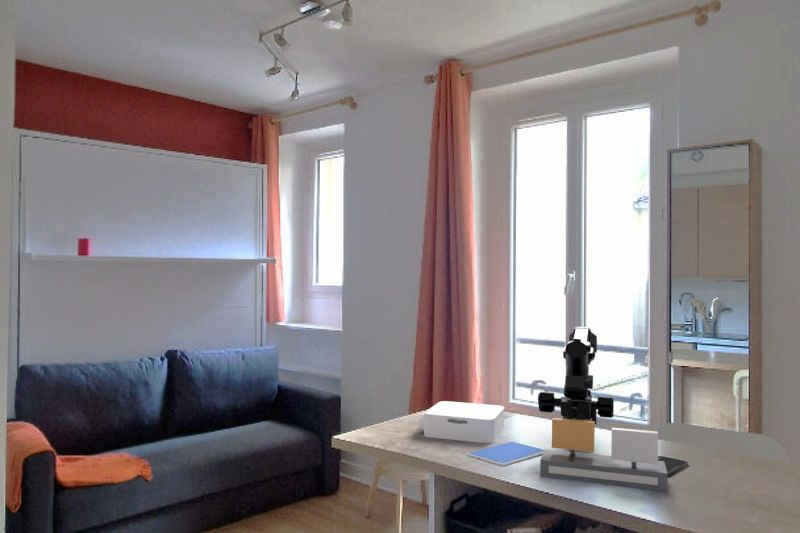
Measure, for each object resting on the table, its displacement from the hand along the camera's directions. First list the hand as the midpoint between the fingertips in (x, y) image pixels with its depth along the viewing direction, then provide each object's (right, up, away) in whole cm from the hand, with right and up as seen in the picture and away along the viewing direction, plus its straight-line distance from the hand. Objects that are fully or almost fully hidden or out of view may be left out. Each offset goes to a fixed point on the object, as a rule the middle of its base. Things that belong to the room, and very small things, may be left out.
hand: (573, 432), depth 161 cm
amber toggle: (-1, -4, -3) cm, 5 cm away
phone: (+23, -10, +2) cm, 25 cm away
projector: (-24, -9, +34) cm, 43 cm away
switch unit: (+5, -9, -7) cm, 12 cm away
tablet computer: (-15, -9, +11) cm, 21 cm away
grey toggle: (+11, -4, -12) cm, 17 cm away
